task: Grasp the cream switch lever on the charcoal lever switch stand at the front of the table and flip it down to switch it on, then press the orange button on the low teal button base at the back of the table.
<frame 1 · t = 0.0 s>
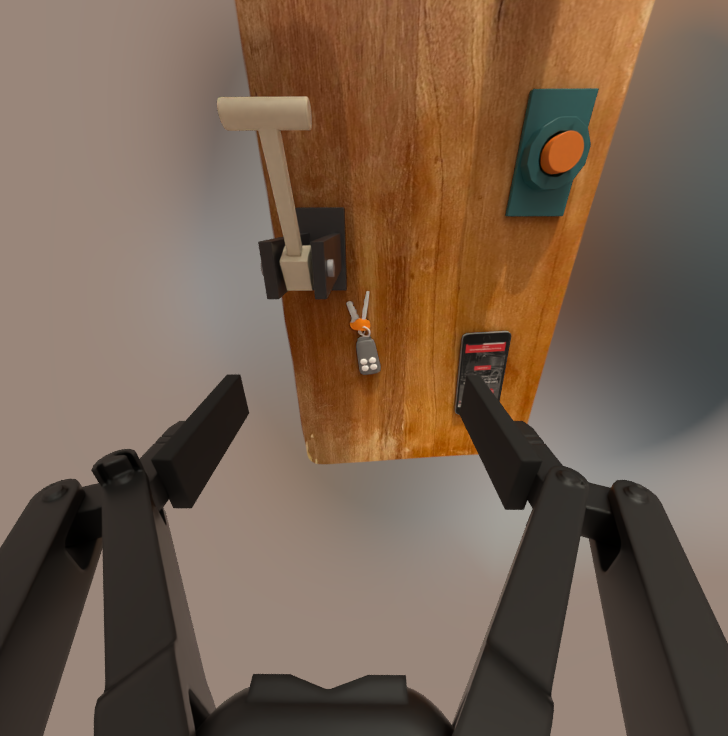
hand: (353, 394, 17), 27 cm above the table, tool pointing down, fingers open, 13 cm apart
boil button: (561, 153, 31), point 3 cm above the table, slide at 0.1 cm
switch lever: (286, 211, 21), point 18 cm above the table, hinge at 25.0°
key chain: (364, 333, 44), on the table
teal button base: (546, 158, 34), on the table
smartphone: (479, 373, 47), on the table
lever switch stand: (323, 250, 39), on the table
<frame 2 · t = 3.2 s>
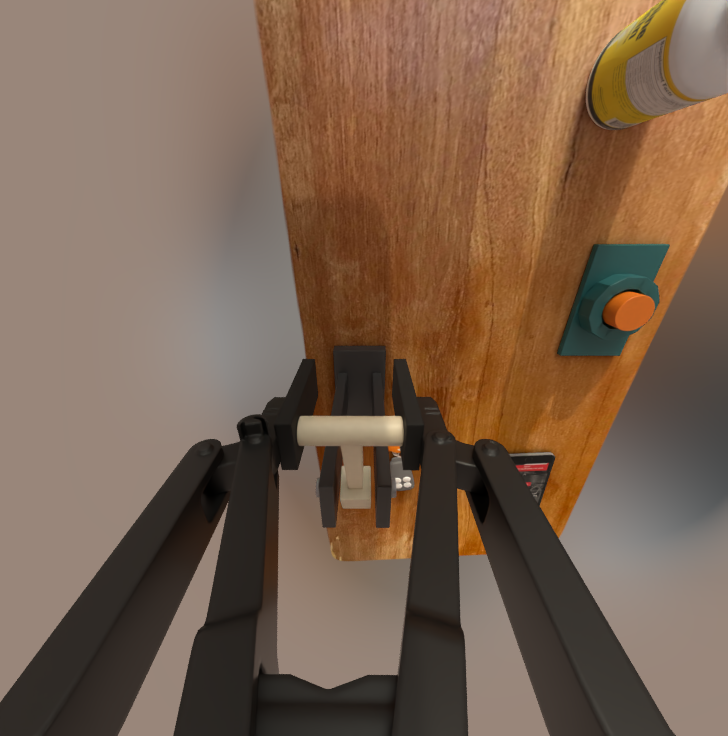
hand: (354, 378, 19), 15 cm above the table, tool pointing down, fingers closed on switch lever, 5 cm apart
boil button: (627, 311, 29), point 3 cm above the table, slide at 0.1 cm
switch lever: (354, 467, 18), point 18 cm above the table, hinge at 25.0°, touching gripper
key chain: (398, 452, 42), on the table
teal button base: (605, 303, 31), on the table
smartphone: (517, 486, 45), on the table
pill bottle: (621, 83, 23), on the table
lever switch stand: (360, 382, 36), on the table
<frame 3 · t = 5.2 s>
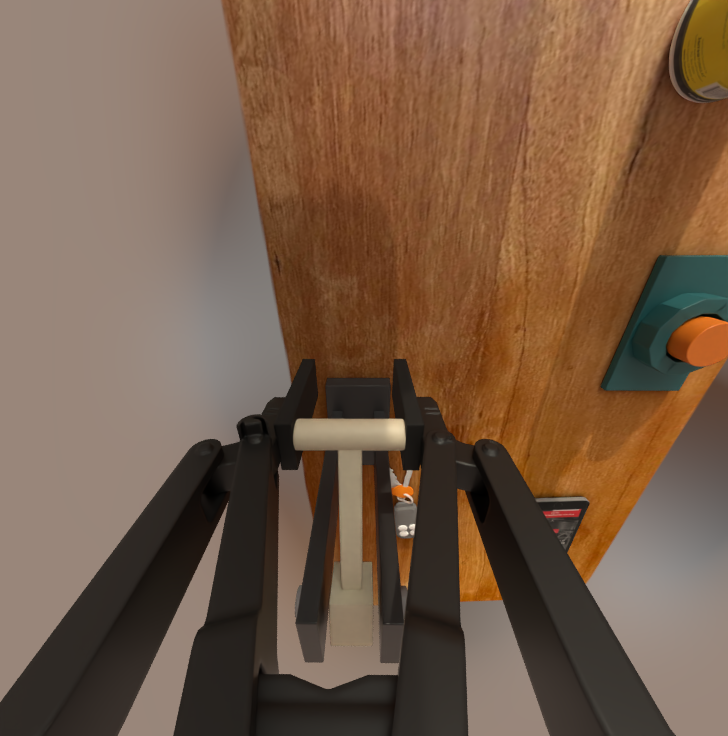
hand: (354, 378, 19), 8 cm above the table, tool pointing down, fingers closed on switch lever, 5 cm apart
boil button: (701, 341, 22), point 3 cm above the table, slide at 0.1 cm
switch lever: (351, 530, 15), point 15 cm above the table, hinge at -14.1°, touching gripper
key chain: (404, 495, 36), on the table
teal button base: (666, 328, 25), on the table
smartphone: (541, 532, 38), on the table
pill bottle: (718, 37, 17), on the table
lever switch stand: (358, 419, 30), on the table
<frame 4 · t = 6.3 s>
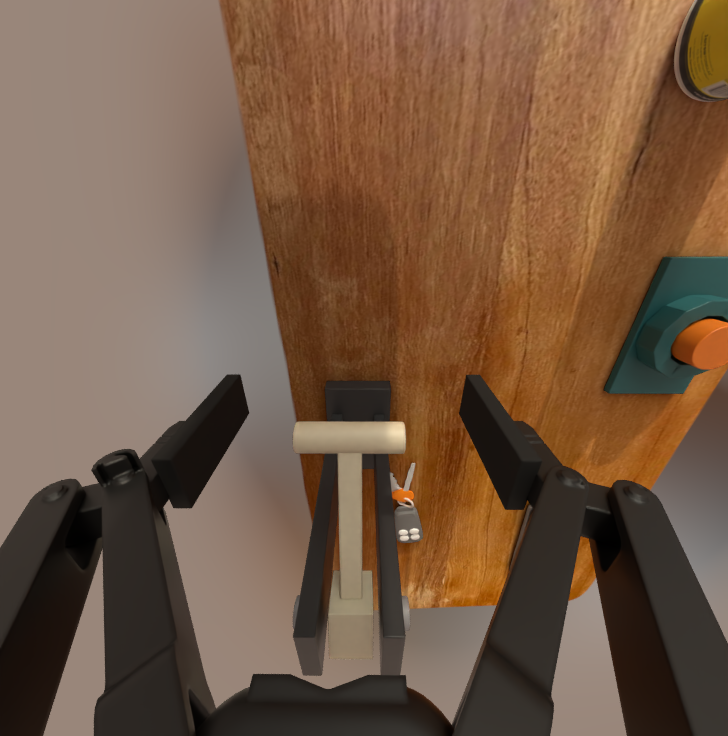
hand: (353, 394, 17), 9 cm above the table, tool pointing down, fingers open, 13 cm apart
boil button: (707, 344, 22), point 3 cm above the table, slide at 0.1 cm
switch lever: (351, 536, 14), point 15 cm above the table, hinge at -16.1°
key chain: (404, 499, 35), on the table
teal button base: (670, 330, 25), on the table
pill bottle: (724, 35, 17), on the table
lever switch stand: (358, 422, 29), on the table
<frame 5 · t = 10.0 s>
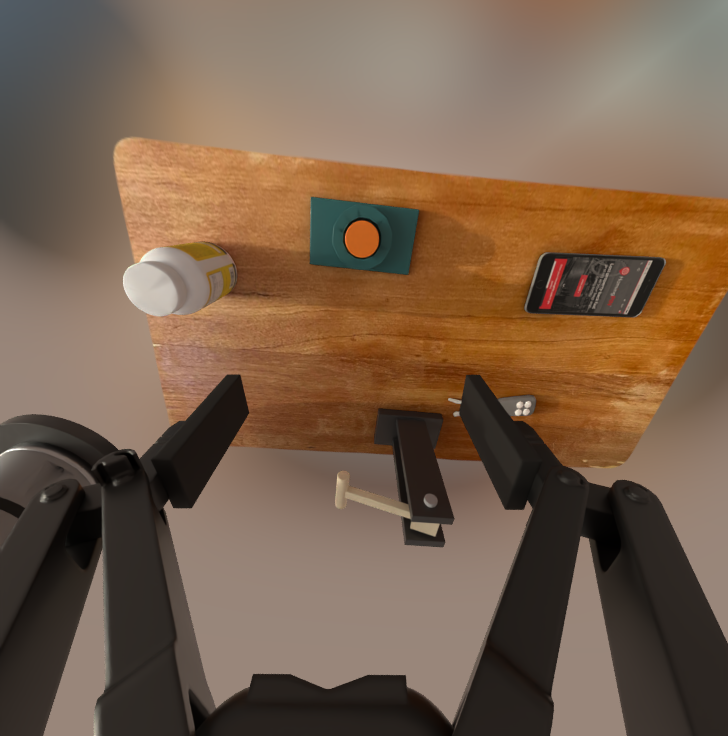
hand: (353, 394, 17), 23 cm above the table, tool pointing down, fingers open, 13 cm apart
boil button: (362, 239, 31), point 3 cm above the table, slide at 0.1 cm
switch lever: (385, 504, 33), point 15 cm above the table, hinge at -16.1°
key chain: (488, 403, 45), on the table
teal button base: (362, 237, 34), on the table
smartphone: (588, 285, 36), on the table
pill bottle: (213, 269, 35), on the table
lever switch stand: (406, 426, 46), on the table
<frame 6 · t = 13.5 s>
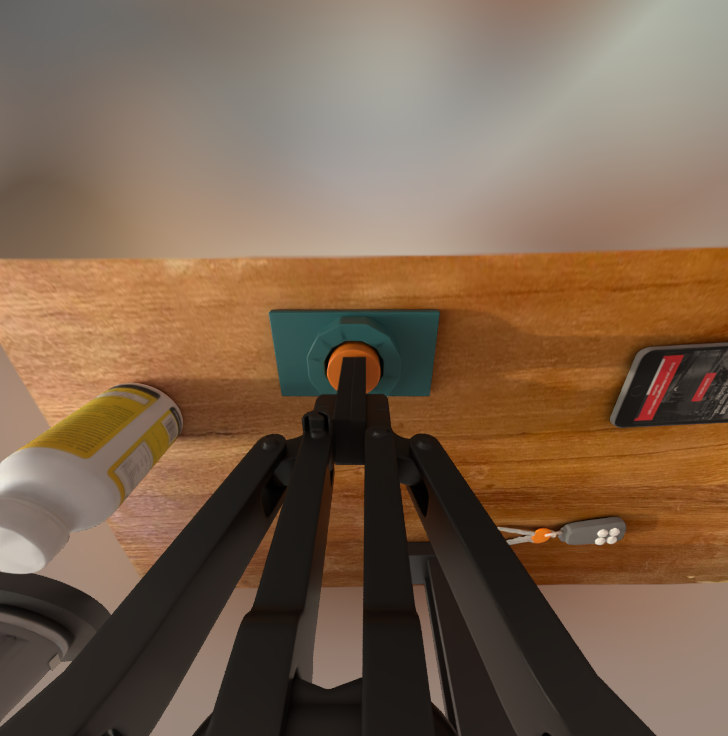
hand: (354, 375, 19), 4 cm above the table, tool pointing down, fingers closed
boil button: (354, 368, 20), point 2 cm above the table, slide at -0.4 cm, touching gripper
key chain: (554, 526, 32), on the table
teal button base: (355, 353, 22), on the table
smartphone: (712, 381, 23), on the table
pill bottle: (150, 410, 25), on the table
lever switch stand: (441, 557, 34), on the table
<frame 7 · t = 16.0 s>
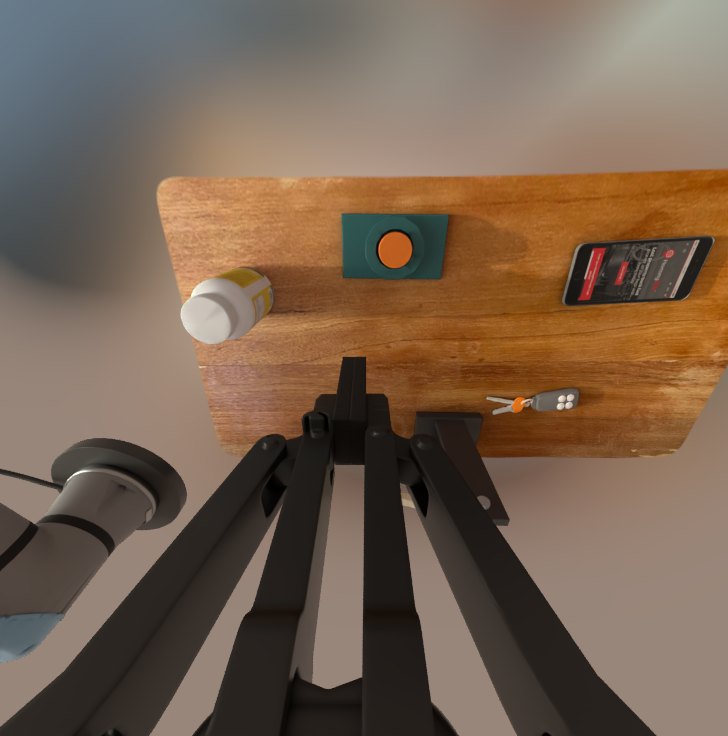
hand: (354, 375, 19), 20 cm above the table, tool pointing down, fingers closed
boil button: (394, 250, 31), point 3 cm above the table, slide at 0.1 cm
switch lever: (436, 507, 34), point 15 cm above the table, hinge at -16.1°
key chain: (528, 399, 44), on the table
teal button base: (393, 247, 34), on the table
smartphone: (629, 271, 35), on the table
pill bottle: (251, 291, 37), on the table
lever switch stand: (445, 427, 47), on the table
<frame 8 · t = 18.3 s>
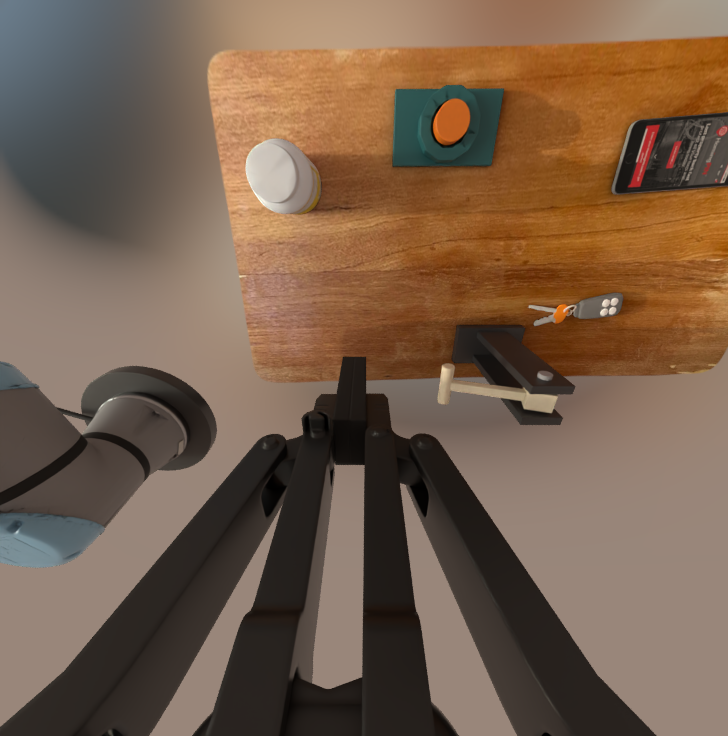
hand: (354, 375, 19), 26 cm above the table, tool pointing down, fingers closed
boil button: (451, 123, 31), point 3 cm above the table, slide at 0.1 cm
switch lever: (493, 390, 33), point 15 cm above the table, hinge at -16.1°
key chain: (570, 308, 44), on the table
teal button base: (444, 130, 34), on the table
smartphone: (680, 155, 35), on the table
pill bottle: (297, 186, 37), on the table
lever switch stand: (485, 342, 46), on the table
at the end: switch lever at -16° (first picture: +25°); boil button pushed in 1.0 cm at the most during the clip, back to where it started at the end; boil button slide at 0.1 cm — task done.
